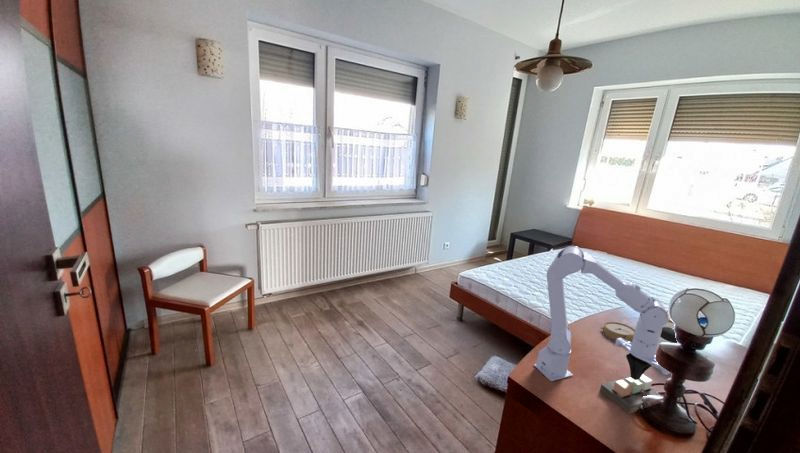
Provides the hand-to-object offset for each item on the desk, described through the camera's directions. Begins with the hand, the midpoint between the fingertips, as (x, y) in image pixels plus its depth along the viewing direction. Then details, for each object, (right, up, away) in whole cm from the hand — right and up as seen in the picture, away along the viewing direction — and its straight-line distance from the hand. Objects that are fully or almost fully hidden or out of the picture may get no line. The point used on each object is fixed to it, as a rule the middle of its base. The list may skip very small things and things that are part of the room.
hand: (635, 378), depth 93 cm
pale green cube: (0, -4, +1) cm, 4 cm away
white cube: (+4, -4, +2) cm, 6 cm away
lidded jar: (+42, +1, +40) cm, 58 cm away
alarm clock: (+21, 0, +33) cm, 39 cm away
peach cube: (-4, -4, 0) cm, 6 cm away
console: (0, -7, +2) cm, 7 cm away
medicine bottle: (+27, -3, +21) cm, 34 cm away
